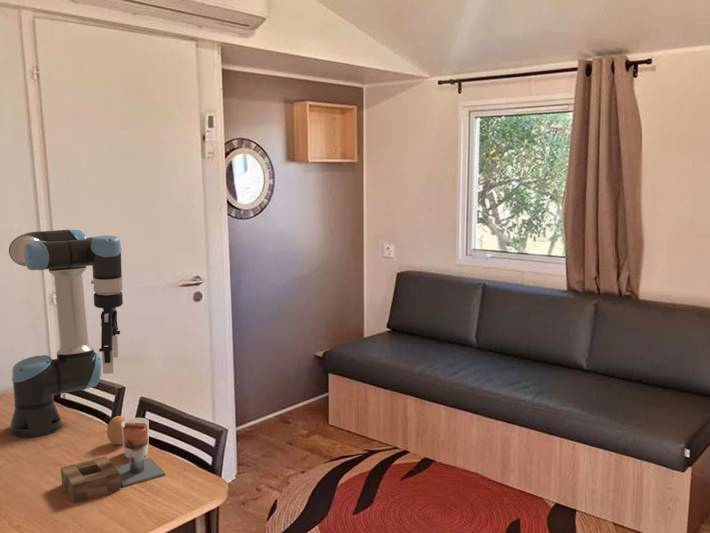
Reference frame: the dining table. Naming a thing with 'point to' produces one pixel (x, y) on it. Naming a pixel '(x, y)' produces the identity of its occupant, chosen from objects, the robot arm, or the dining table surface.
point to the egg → (115, 430)
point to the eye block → (90, 479)
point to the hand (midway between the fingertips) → (111, 364)
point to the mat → (149, 473)
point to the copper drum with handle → (135, 445)
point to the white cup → (135, 420)
